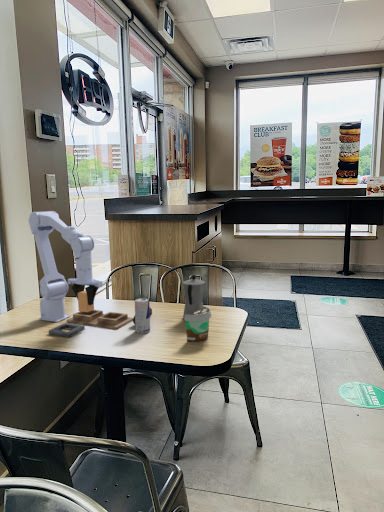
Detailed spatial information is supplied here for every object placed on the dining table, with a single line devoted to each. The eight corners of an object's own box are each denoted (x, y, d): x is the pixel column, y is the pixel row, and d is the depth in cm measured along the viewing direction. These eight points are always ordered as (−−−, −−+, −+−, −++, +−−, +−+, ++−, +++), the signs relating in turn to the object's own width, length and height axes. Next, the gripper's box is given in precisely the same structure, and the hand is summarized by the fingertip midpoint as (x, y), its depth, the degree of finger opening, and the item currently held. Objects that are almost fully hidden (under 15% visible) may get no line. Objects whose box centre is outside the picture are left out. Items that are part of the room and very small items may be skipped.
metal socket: (48, 334, 141) (48, 330, 140) (65, 326, 149) (65, 322, 148) (68, 337, 137) (68, 333, 137) (84, 329, 145) (84, 325, 145)
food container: (200, 346, 128) (199, 317, 126) (184, 342, 131) (184, 314, 130) (217, 334, 138) (217, 308, 137) (202, 331, 142) (202, 305, 140)
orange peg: (78, 311, 145) (77, 293, 144) (85, 308, 148) (84, 290, 147) (87, 312, 143) (86, 294, 142) (94, 309, 147) (93, 291, 146)
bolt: (150, 318, 163) (141, 330, 148) (140, 312, 163) (130, 323, 148) (157, 307, 162) (148, 317, 147) (146, 301, 162) (137, 310, 147)
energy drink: (152, 329, 144) (151, 298, 142) (146, 334, 139) (145, 302, 137) (139, 328, 146) (138, 297, 144) (133, 332, 141) (132, 301, 139)
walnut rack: (66, 321, 154) (66, 315, 154) (85, 313, 165) (85, 307, 165) (117, 329, 145) (116, 322, 144) (134, 319, 156) (133, 313, 155)
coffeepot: (186, 312, 165) (185, 271, 162) (208, 313, 163) (207, 272, 160) (177, 324, 150) (177, 279, 147) (201, 325, 148) (201, 280, 145)
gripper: (61, 269, 143) (63, 304, 145) (93, 272, 137) (95, 308, 139) (74, 266, 149) (76, 300, 151) (105, 268, 143) (106, 303, 145)
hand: (86, 303), depth 145 cm, fingers closed on orange peg, 4 cm apart
